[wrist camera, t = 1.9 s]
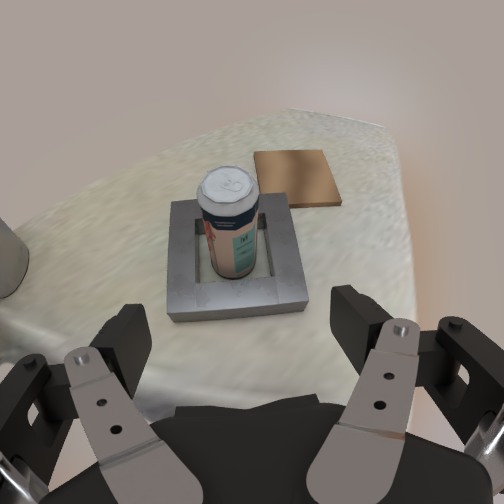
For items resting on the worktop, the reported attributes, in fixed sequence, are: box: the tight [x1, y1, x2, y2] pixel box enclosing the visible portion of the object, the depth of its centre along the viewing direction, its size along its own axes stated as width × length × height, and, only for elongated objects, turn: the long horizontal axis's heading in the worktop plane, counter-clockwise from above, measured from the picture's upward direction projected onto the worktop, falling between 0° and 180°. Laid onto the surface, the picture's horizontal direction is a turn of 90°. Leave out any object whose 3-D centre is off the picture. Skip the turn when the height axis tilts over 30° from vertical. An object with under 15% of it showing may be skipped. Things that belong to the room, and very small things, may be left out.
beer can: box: [197, 165, 259, 278], centre depth 26 cm, size 5×5×12 cm
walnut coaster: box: [254, 150, 342, 208], centre depth 37 cm, size 10×10×1 cm
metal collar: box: [167, 192, 309, 323], centre depth 30 cm, size 13×13×3 cm
